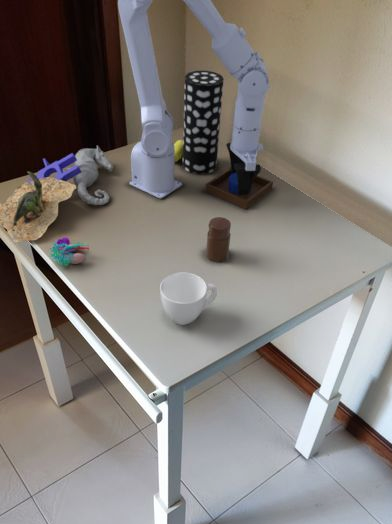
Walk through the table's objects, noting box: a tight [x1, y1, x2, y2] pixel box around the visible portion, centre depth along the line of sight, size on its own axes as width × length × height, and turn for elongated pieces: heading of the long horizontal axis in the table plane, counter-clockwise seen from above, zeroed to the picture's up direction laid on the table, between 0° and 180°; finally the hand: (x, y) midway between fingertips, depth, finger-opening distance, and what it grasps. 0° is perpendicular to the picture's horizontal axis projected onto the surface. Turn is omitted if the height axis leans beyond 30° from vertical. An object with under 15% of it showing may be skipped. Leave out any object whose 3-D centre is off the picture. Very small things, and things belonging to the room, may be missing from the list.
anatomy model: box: [49, 237, 90, 267], centre depth 93 cm, size 5×8×7 cm
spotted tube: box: [182, 69, 225, 175], centre depth 114 cm, size 8×8×20 cm
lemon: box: [173, 139, 183, 163], centre depth 122 cm, size 4×8×4 cm
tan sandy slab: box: [0, 171, 77, 243], centre depth 100 cm, size 18×14×8 cm
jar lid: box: [228, 173, 252, 195], centre depth 113 cm, size 5×5×3 cm
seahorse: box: [64, 145, 114, 206], centre depth 112 cm, size 5×12×20 cm
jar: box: [205, 216, 232, 263], centre depth 95 cm, size 4×4×7 cm
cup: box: [159, 271, 218, 326], centre depth 84 cm, size 8×10×7 cm
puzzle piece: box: [26, 152, 81, 182], centre depth 108 cm, size 10×12×2 cm
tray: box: [205, 167, 274, 210], centre depth 114 cm, size 11×11×2 cm
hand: (239, 184), depth 113 cm, fingers open, 7 cm apart
